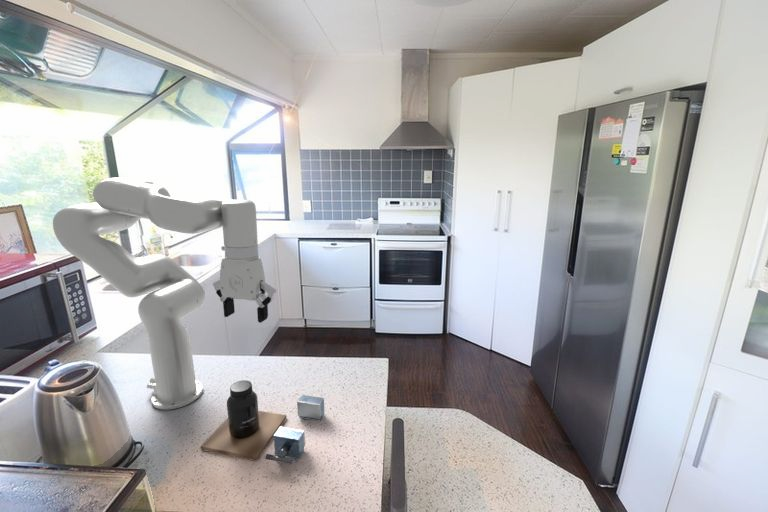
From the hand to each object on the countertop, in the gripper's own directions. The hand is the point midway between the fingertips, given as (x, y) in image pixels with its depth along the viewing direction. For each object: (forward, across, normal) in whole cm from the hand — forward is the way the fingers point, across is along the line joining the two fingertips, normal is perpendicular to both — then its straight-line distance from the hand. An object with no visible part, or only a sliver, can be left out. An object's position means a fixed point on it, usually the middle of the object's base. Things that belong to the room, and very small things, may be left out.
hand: (246, 317), depth 91 cm
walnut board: (+26, +5, -9) cm, 28 cm away
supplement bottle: (+25, +5, -9) cm, 27 cm away
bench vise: (+25, +18, -7) cm, 32 cm away
